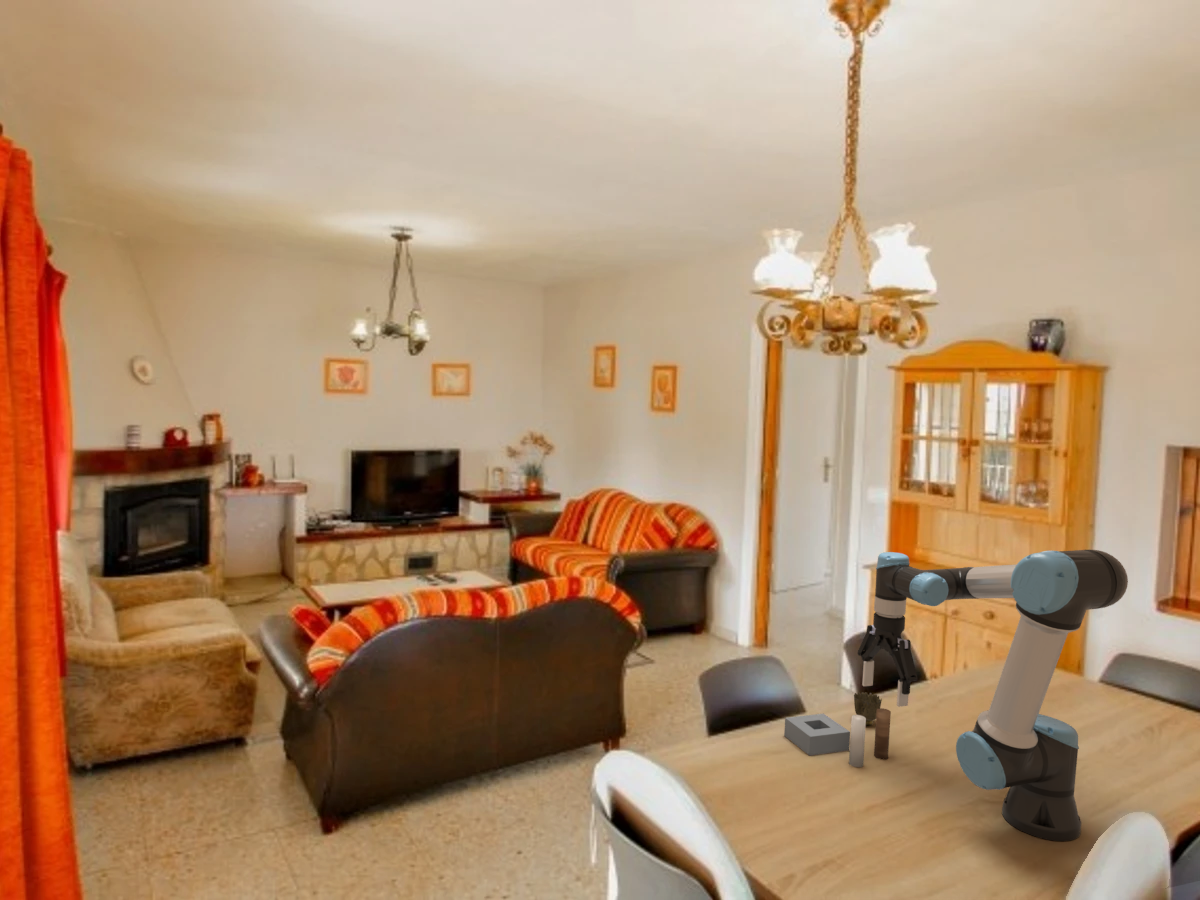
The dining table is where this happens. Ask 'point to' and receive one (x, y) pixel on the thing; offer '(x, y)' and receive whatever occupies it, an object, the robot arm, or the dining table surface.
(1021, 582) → the robot arm
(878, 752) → the walnut peg
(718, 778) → the dining table surface
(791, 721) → the socket block
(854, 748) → the pale grey cylinder
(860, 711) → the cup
